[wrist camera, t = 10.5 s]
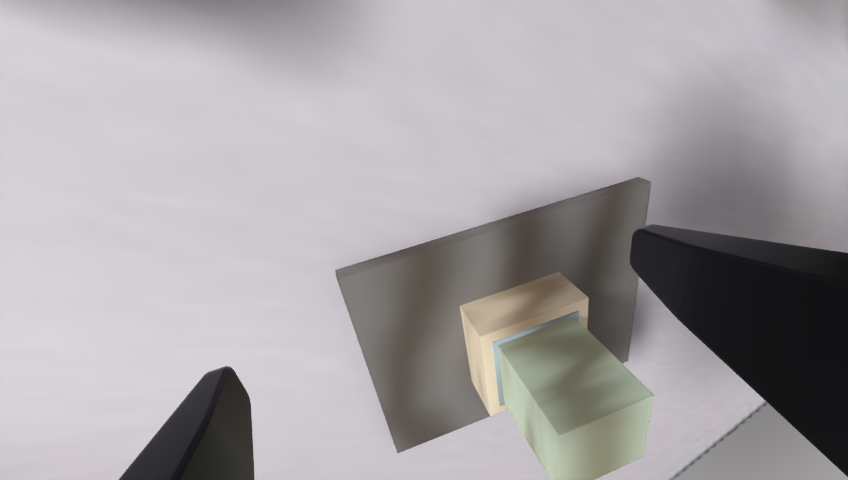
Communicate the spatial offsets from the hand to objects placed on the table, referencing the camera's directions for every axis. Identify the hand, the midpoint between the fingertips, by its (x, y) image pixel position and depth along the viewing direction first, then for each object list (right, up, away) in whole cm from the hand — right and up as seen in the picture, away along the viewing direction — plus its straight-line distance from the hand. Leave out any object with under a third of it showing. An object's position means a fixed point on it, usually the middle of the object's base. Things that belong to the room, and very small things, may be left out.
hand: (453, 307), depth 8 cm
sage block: (+6, -6, +16) cm, 18 cm away
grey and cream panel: (+5, -4, +19) cm, 20 cm away
